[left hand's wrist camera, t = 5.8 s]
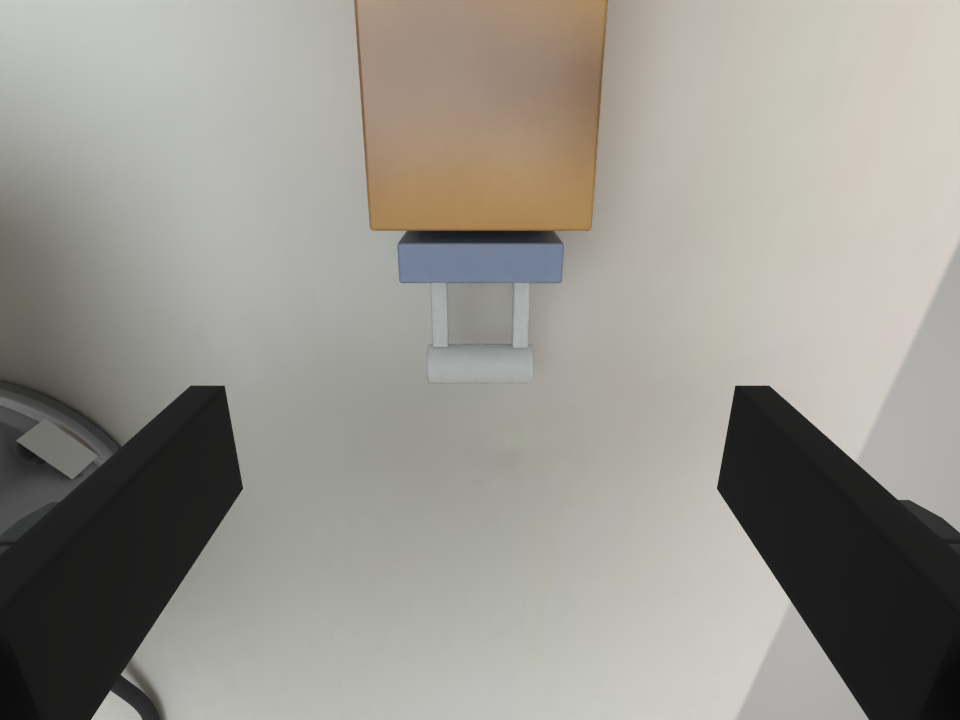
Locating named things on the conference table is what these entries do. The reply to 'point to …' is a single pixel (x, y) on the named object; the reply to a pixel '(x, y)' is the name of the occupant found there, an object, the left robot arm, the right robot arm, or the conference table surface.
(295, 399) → the conference table surface
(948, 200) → the conference table surface
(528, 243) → the drawer
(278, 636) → the conference table surface
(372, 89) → the tan wooden box
